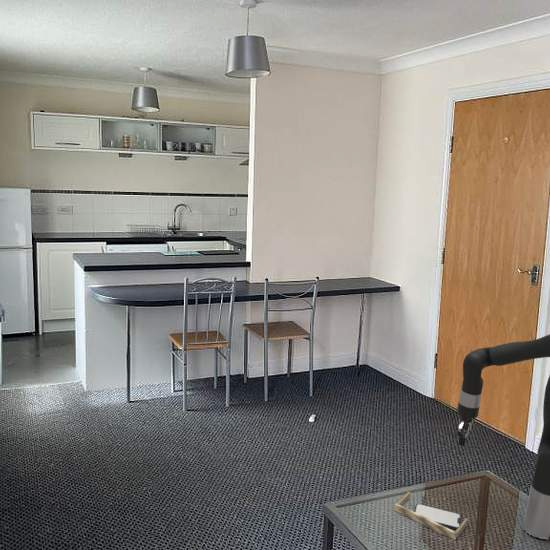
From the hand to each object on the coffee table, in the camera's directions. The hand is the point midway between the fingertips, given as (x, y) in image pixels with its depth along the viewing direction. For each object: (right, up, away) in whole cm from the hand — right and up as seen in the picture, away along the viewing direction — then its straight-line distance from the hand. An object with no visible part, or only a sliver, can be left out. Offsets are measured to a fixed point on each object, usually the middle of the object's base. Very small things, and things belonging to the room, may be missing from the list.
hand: (461, 444), depth 224 cm
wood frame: (-14, -23, -10) cm, 29 cm away
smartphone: (-12, -24, -10) cm, 28 cm away
